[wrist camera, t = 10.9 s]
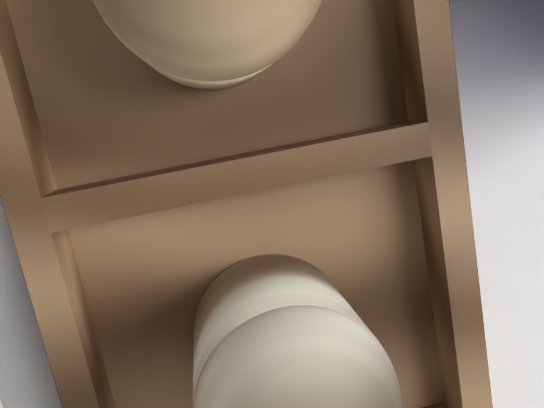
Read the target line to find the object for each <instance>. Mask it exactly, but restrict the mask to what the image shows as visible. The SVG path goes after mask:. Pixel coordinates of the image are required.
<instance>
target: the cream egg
mask: <svg viewBox="0 0 544 408" xmlns="http://www.w3.org/2000/svg"><path fill="white" fill-rule="evenodd" d="M193 408H402V398H401V390H400V386H399V382H398V378H397V375H396V372H395V370H394V367H393V365H392V362H391V360H390V358H389V357H388V355H387V353H386V352H385V350H384V348H383V347H382V345H381V343H380V342H379V341H378V340H377V338H376V337H375V336H374V335H373V333H372V332H371V331H370V330H369V328H368V327H367V326H366V325H365V323H364V322H363V321H362V320H361V319H360V317H359V316H358V315H357V314H356V312H355V311H354V310H353V309H352V307H351V306H350V305H349V304H348V302H347V301H346V300H345V299H344V297H343V296H342V295H341V294H340V292H339V291H338V290H337V289H336V288H335V286H334V285H333V284H332V283H331V281H330V280H329V279H328V278H327V276H326V275H324V274H323V273H322V272H321V271H320V270H319V269H317V268H316V267H315V266H313V265H312V264H310V263H308V262H306V261H304V260H301V259H299V258H296V257H292V256H287V255H279V254H268V255H260V256H254V257H251V258H248V259H245V260H242V261H240V262H238V263H236V264H234V265H232V266H231V267H229V268H228V269H226V270H225V271H224V272H222V273H221V274H220V275H219V276H218V277H217V278H216V279H215V280H214V281H213V282H212V283H211V284H210V286H209V287H208V288H207V290H206V291H205V293H204V294H203V296H202V298H201V300H200V302H199V305H198V307H197V310H196V315H195V319H194V329H193Z"/></svg>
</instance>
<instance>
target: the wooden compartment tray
mask: <svg viewBox="0 0 544 408" xmlns="http://www.w3.org/2000/svg"><path fill="white" fill-rule="evenodd" d="M0 196H1V199H2V203H3V206H4V210H5V213H6V216H7V220H8V223H9V227H10V230H11V234H12V237H13V240H14V244H15V247H16V251H17V254H18V257H19V261H20V264H21V268H22V271H23V275H24V278H25V281H26V285H27V288H28V292H29V295H30V298H31V302H32V305H33V309H34V312H35V316H36V319H37V322H38V326H39V329H40V333H41V336H42V339H43V343H44V346H45V350H46V353H47V356H48V360H49V363H50V367H51V370H52V374H53V377H54V380H55V384H56V387H57V391H58V394H59V397H60V401H61V404H62V408H193V329H194V319H195V315H196V310H197V307H198V305H199V302H200V300H201V298H202V296H203V294H204V293H205V291H206V290H207V288H208V287H209V286H210V284H211V283H212V282H213V281H214V280H215V279H216V278H217V277H218V276H219V275H220V274H221V273H222V272H224V271H225V270H226V269H228V268H229V267H231V266H232V265H234V264H236V263H238V262H240V261H242V260H245V259H248V258H251V257H254V256H260V255H268V254H279V255H287V256H292V257H296V258H299V259H301V260H304V261H306V262H308V263H310V264H312V265H313V266H315V267H316V268H317V269H319V270H320V271H321V272H322V273H323V274H324V275H326V276H327V278H328V279H329V280H330V281H331V283H332V284H333V285H334V286H335V288H336V289H337V290H338V291H339V292H340V294H341V295H342V296H343V297H344V299H345V300H346V301H347V302H348V304H349V305H350V306H351V307H352V309H353V310H354V311H355V312H356V314H357V315H358V316H359V317H360V319H361V320H362V321H363V322H364V323H365V325H366V326H367V327H368V328H369V330H370V331H371V332H372V333H373V335H374V336H375V337H376V338H377V340H378V341H379V342H380V343H381V345H382V347H383V348H384V350H385V352H386V353H387V355H388V357H389V358H390V360H391V362H392V365H393V367H394V370H395V372H396V375H397V378H398V382H399V386H400V390H401V398H402V408H493V407H492V397H491V388H490V379H489V370H488V361H487V351H486V342H485V333H484V324H483V314H482V305H481V296H480V287H479V278H478V268H477V259H476V250H475V241H474V231H473V222H472V213H471V204H470V195H469V185H468V176H467V167H466V158H465V148H464V139H463V130H462V121H461V112H460V102H459V93H458V84H457V75H456V66H455V56H454V47H453V38H452V29H451V19H450V10H449V1H448V0H322V1H321V4H320V6H319V8H318V11H317V13H316V15H315V17H314V18H313V20H312V22H311V24H310V25H309V27H308V29H307V30H306V31H305V33H304V34H303V35H302V37H301V38H300V39H299V40H298V42H297V43H296V44H295V45H294V46H293V47H292V48H291V49H290V50H289V51H288V52H287V53H286V54H285V55H283V56H282V57H281V58H279V59H278V60H277V61H276V62H274V63H273V64H272V65H270V66H269V67H268V68H266V69H265V70H263V71H262V72H261V73H259V74H258V75H257V76H255V77H254V78H252V79H250V80H248V81H247V82H245V83H242V84H240V85H237V86H234V87H230V88H226V89H219V90H201V89H194V88H190V87H186V86H183V85H180V84H178V83H176V82H173V81H171V80H169V79H168V78H166V77H164V76H163V75H161V74H160V73H158V72H157V71H156V70H155V69H153V68H152V67H151V66H149V65H148V64H147V63H146V62H144V61H143V60H142V59H141V58H139V57H138V56H137V55H136V54H134V53H133V52H132V51H131V50H129V49H128V48H127V47H126V46H125V45H124V44H123V43H122V42H121V41H120V40H119V39H118V38H117V37H116V35H115V34H114V33H113V31H112V30H111V29H110V28H109V26H108V25H107V24H106V22H105V21H104V19H103V18H102V16H101V14H100V13H99V11H98V9H97V7H96V6H95V4H94V2H93V0H0Z"/></svg>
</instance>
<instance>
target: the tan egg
mask: <svg viewBox="0 0 544 408" xmlns="http://www.w3.org/2000/svg"><path fill="white" fill-rule="evenodd" d="M321 1H322V0H93V2H94V4H95V6H96V7H97V9H98V11H99V13H100V14H101V16H102V18H103V19H104V21H105V22H106V24H107V25H108V26H109V28H110V29H111V30H112V31H113V33H114V34H115V35H116V37H117V38H118V39H119V40H120V41H121V42H122V43H123V44H124V45H125V46H126V47H127V48H128V49H129V50H131V51H132V52H133V53H134V54H136V55H137V56H138V57H139V58H141V59H142V60H143V61H144V62H146V63H147V64H148V65H149V66H151V67H152V68H153V69H155V70H156V71H157V72H158V73H160V74H161V75H163V76H164V77H166V78H168V79H169V80H171V81H173V82H176V83H178V84H180V85H183V86H186V87H190V88H194V89H201V90H219V89H226V88H230V87H234V86H237V85H240V84H242V83H245V82H247V81H248V80H250V79H252V78H254V77H255V76H257V75H258V74H259V73H261V72H262V71H263V70H265V69H266V68H268V67H269V66H270V65H272V64H273V63H274V62H276V61H277V60H278V59H279V58H281V57H282V56H283V55H285V54H286V53H287V52H288V51H289V50H290V49H291V48H292V47H293V46H294V45H295V44H296V43H297V42H298V40H299V39H300V38H301V37H302V35H303V34H304V33H305V31H306V30H307V29H308V27H309V25H310V24H311V22H312V20H313V18H314V17H315V15H316V13H317V11H318V8H319V6H320V4H321Z"/></svg>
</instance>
